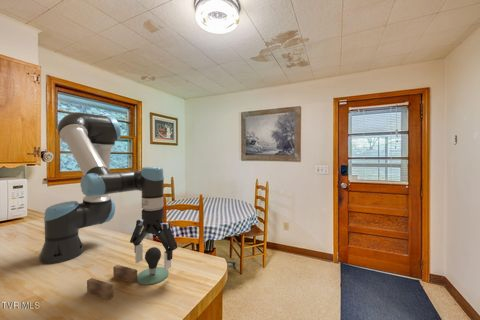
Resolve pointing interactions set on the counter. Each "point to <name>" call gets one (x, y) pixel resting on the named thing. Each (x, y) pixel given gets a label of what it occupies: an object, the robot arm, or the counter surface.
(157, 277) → the pad
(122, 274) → the pair of wooden planks
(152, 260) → the light bulb
